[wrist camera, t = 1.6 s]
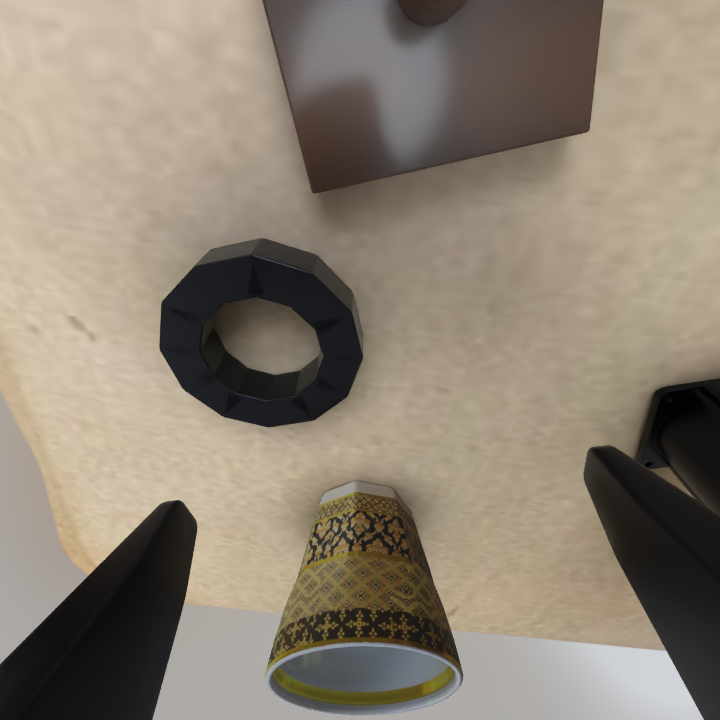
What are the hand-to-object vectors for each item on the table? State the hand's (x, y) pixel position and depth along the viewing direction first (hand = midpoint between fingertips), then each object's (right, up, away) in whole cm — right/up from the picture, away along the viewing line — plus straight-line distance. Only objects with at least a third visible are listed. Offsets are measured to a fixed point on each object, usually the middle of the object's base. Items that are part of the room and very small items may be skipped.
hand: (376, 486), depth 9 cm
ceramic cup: (+1, -9, +20) cm, 22 cm away
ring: (-5, +4, +11) cm, 13 cm away
